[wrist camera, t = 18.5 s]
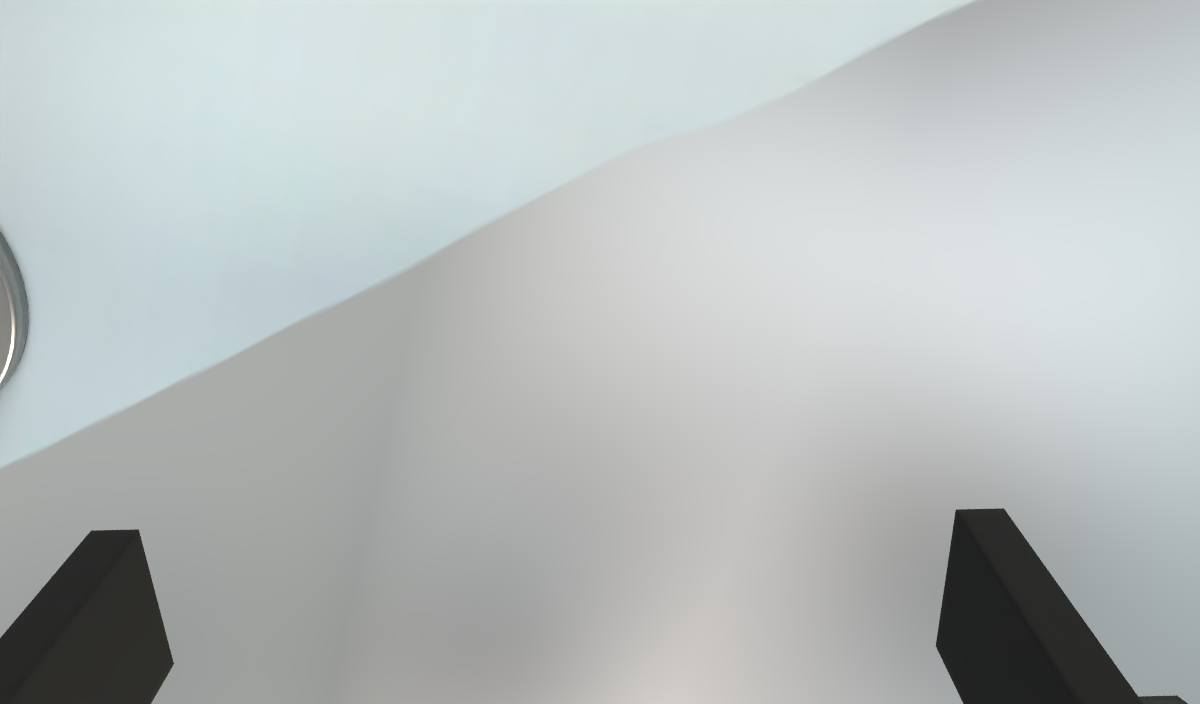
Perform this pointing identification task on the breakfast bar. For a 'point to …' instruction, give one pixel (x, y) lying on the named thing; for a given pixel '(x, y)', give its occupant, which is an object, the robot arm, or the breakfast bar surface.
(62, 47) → the breakfast bar surface
